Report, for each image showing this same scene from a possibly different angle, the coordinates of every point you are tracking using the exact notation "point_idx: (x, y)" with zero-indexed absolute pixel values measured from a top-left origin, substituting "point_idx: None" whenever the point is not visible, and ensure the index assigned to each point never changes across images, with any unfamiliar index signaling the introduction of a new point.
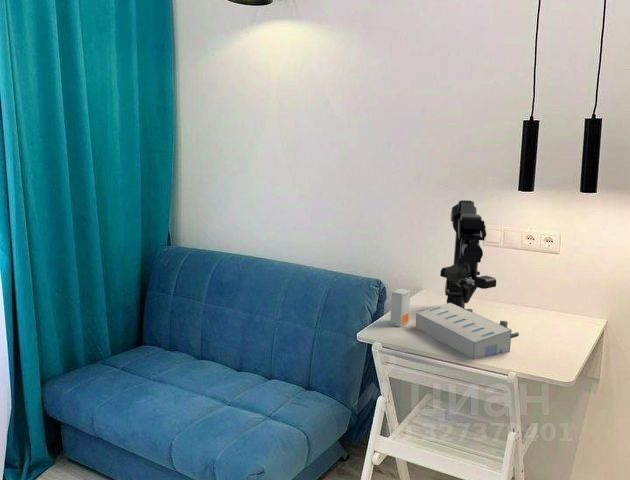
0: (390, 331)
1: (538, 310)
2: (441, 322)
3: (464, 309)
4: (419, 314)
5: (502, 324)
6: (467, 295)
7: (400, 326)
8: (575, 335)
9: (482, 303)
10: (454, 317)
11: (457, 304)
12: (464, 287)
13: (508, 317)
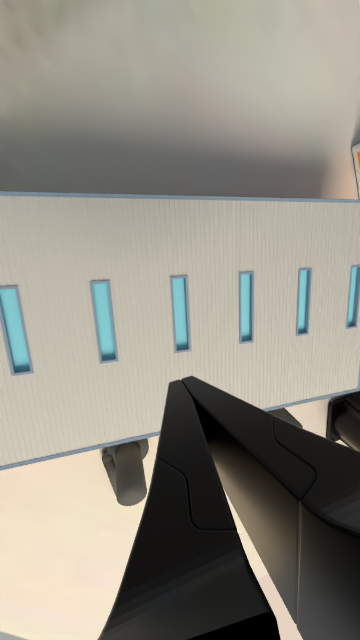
0: (342, 64)
1: None
2: (222, 226)
3: (273, 405)
4: (357, 200)
5: (123, 480)
6: (157, 453)
7: (352, 147)
8: (67, 612)
9: None
10: (232, 319)
11: (357, 427)
12: (303, 546)
13: None
